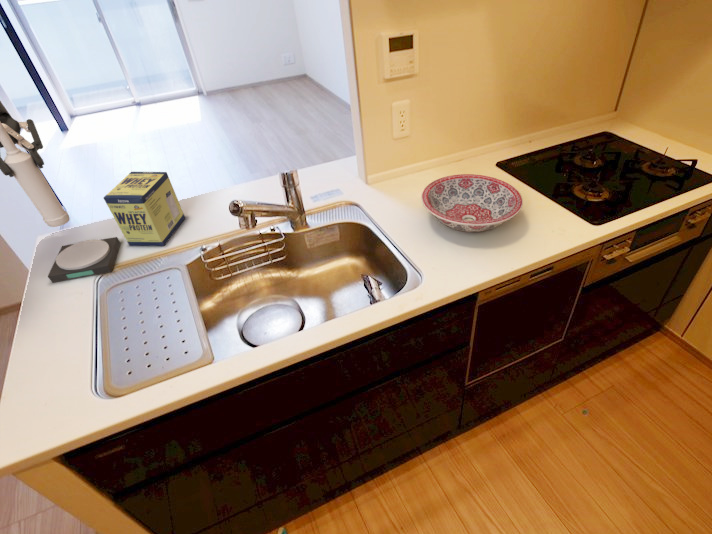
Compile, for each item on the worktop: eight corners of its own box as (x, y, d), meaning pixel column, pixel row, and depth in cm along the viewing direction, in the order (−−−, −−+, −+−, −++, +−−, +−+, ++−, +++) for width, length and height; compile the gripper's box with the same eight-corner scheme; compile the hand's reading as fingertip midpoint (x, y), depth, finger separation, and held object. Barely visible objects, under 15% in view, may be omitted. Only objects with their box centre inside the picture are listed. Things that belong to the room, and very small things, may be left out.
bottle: (75, 216, 107) (13, 115, 90) (61, 228, 104) (-7, 124, 87) (56, 215, 108) (-10, 114, 91) (41, 227, 104) (-30, 123, 87)
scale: (52, 283, 110) (45, 274, 108) (66, 252, 120) (60, 243, 118) (111, 272, 113) (106, 263, 111) (120, 243, 123) (115, 234, 120)
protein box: (128, 246, 121) (101, 197, 111) (153, 217, 133) (131, 170, 122) (164, 246, 121) (141, 197, 110) (186, 217, 132) (167, 170, 122)
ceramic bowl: (536, 238, 122) (542, 213, 116) (441, 257, 116) (443, 232, 110) (491, 190, 142) (494, 168, 137) (408, 205, 136) (408, 182, 131)
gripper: (-71, 100, 86) (-18, 174, 88) (11, 84, 94) (59, 152, 96) (-56, 120, 93) (-7, 189, 95) (20, 104, 100) (64, 167, 102)
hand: (26, 170), depth 95 cm, fingers closed on bottle, 5 cm apart
